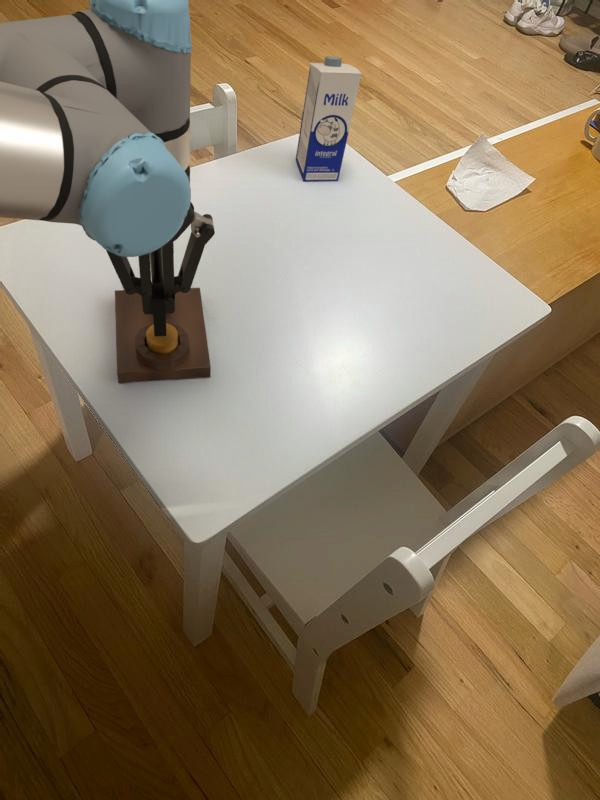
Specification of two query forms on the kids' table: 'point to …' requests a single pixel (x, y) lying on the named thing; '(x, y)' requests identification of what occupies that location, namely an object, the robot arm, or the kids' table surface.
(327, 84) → the milk carton
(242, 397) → the kids' table surface
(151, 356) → the lamp base
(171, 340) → the lamp switch
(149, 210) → the robot arm
